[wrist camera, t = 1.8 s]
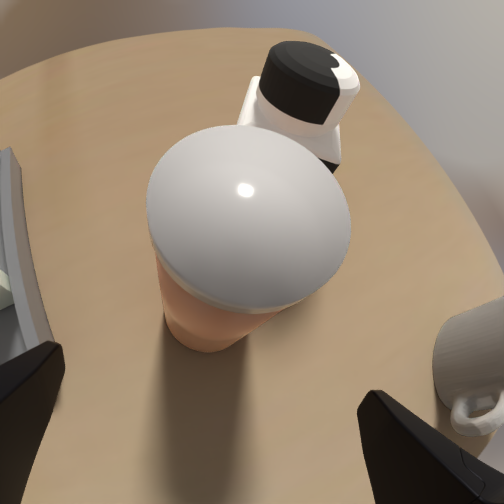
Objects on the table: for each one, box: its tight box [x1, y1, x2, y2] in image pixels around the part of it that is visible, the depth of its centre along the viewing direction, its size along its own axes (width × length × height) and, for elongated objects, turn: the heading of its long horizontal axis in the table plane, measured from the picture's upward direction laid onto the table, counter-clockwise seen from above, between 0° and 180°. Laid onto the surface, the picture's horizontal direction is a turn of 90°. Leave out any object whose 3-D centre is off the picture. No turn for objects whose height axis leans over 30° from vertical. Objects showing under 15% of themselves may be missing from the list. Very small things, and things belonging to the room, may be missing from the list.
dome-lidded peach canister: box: [146, 125, 351, 352], centre depth 14 cm, size 6×6×13 cm
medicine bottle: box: [237, 41, 360, 174], centre depth 20 cm, size 7×7×12 cm
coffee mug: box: [433, 296, 504, 437], centre depth 18 cm, size 13×10×10 cm
